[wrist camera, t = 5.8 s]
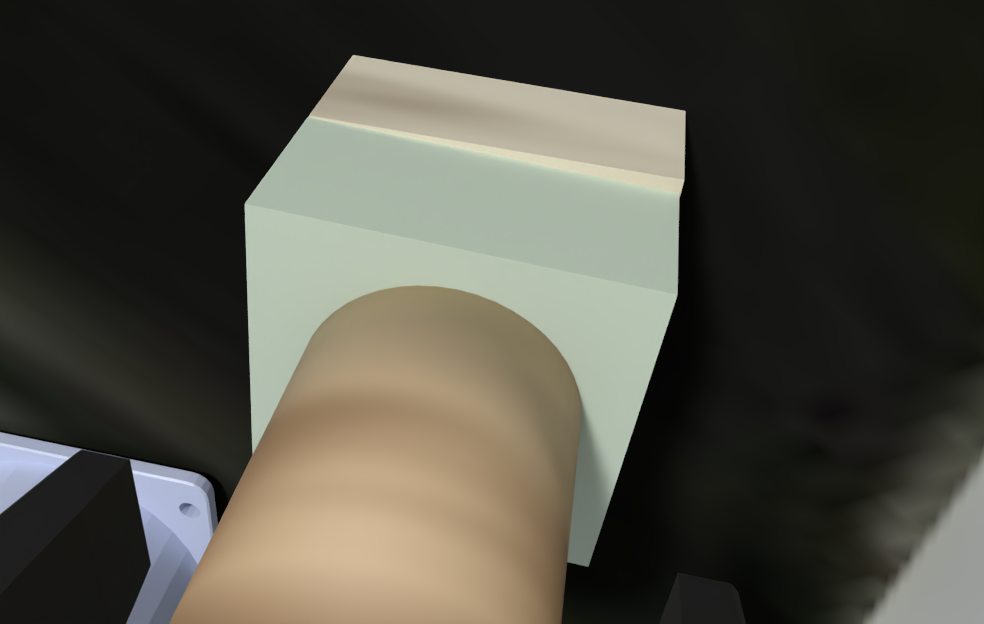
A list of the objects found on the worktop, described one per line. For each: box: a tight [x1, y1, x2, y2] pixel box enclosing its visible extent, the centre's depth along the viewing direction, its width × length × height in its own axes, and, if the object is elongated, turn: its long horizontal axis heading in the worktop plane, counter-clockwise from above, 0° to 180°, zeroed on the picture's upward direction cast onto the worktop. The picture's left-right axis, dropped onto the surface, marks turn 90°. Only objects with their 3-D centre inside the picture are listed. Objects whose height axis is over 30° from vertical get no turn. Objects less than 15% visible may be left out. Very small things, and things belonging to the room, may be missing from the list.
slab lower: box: [309, 55, 686, 199], centre depth 16 cm, size 6×6×2 cm
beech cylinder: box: [169, 285, 581, 624], centre depth 11 cm, size 4×4×4 cm
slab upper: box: [245, 117, 679, 567], centre depth 14 cm, size 6×6×2 cm
